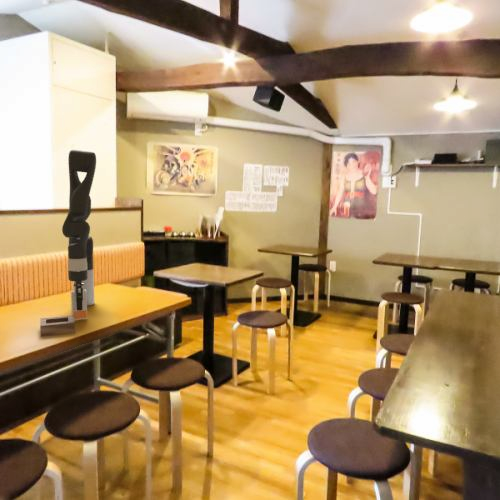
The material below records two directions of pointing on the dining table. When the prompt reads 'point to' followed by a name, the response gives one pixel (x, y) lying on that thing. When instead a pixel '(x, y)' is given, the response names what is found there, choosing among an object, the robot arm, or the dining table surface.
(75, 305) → the skincare box
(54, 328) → the grey slotted box
